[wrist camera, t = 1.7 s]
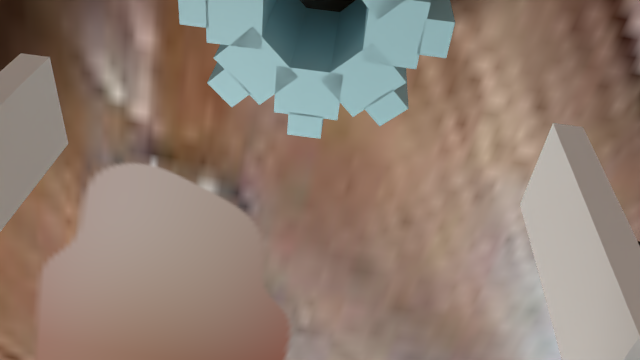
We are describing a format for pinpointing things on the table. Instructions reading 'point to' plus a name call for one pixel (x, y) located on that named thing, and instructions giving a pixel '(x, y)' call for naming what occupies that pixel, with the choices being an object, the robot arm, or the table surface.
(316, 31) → the teal gear
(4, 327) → the table surface
